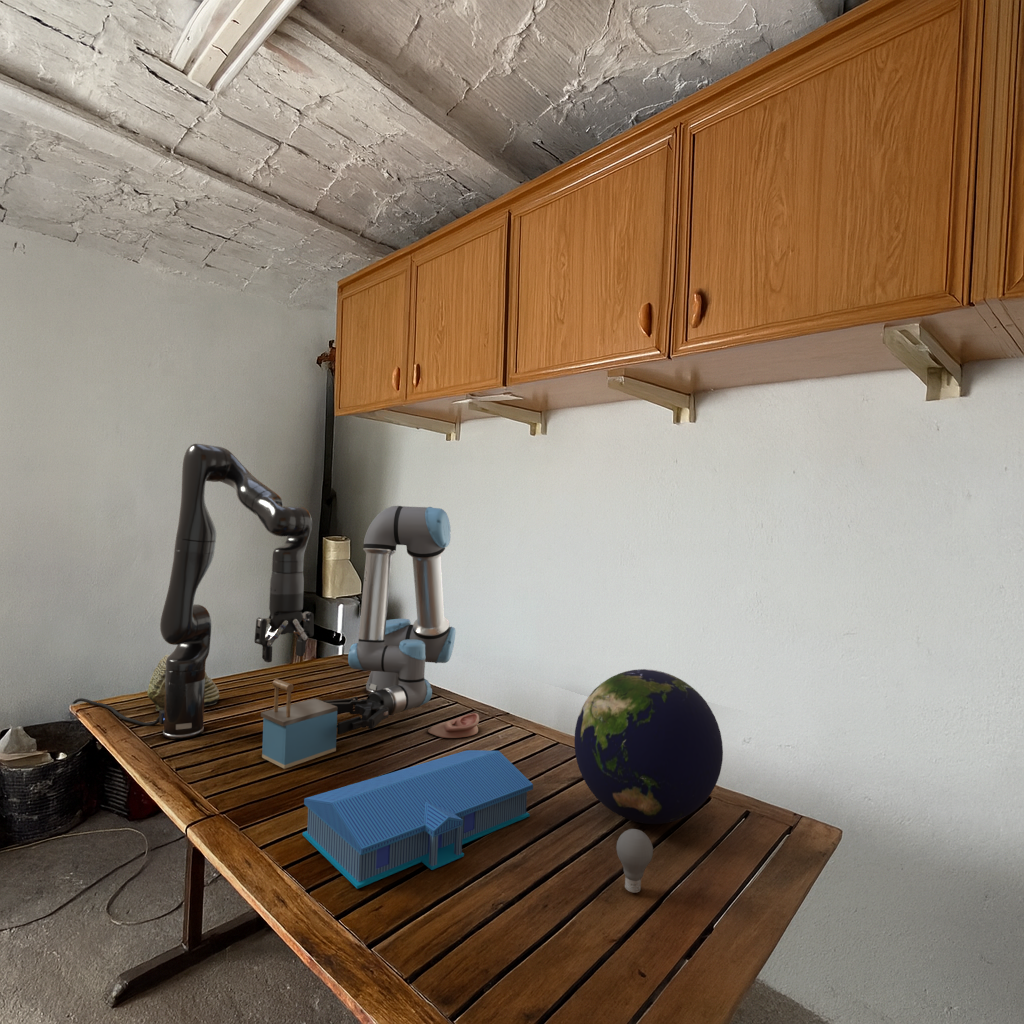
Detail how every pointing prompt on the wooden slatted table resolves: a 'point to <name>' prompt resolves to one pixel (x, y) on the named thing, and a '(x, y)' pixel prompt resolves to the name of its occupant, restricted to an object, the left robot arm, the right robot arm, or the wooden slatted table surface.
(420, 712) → the wooden slatted table surface
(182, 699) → the left robot arm
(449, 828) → the model building
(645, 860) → the light bulb
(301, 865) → the wooden slatted table surface
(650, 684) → the globe
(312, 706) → the lid
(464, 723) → the anatomical model
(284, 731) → the chest
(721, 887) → the wooden slatted table surface
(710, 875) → the wooden slatted table surface
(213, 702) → the fossil
